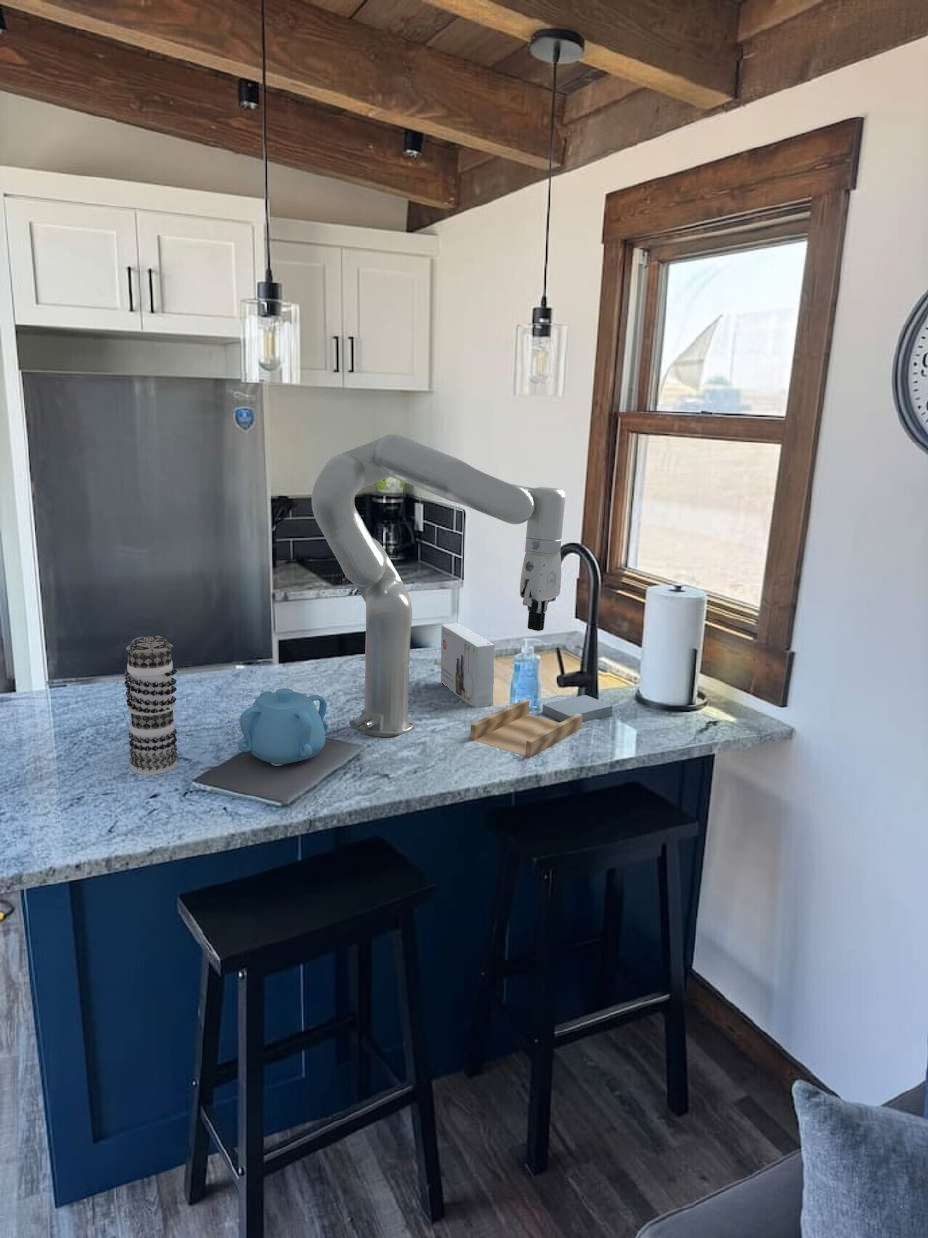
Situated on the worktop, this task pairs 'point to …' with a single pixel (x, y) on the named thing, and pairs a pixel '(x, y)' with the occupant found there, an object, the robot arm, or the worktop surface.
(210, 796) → the worktop surface
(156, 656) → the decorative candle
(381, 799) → the worktop surface
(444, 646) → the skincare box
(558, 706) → the slate cover plate
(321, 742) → the decorative pot
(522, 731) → the wooden tray
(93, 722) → the worktop surface
